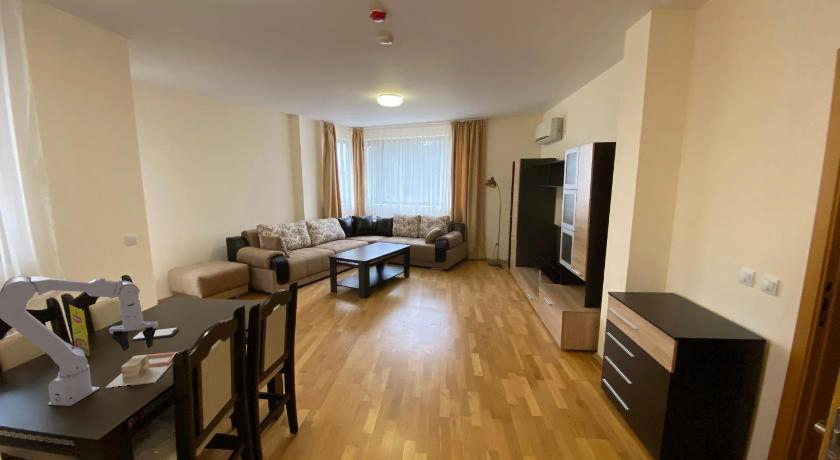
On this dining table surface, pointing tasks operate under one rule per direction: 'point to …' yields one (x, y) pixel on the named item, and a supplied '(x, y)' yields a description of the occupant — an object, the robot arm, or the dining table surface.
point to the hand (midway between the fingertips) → (138, 347)
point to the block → (135, 368)
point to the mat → (148, 377)
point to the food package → (79, 329)
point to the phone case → (157, 334)
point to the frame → (161, 356)
